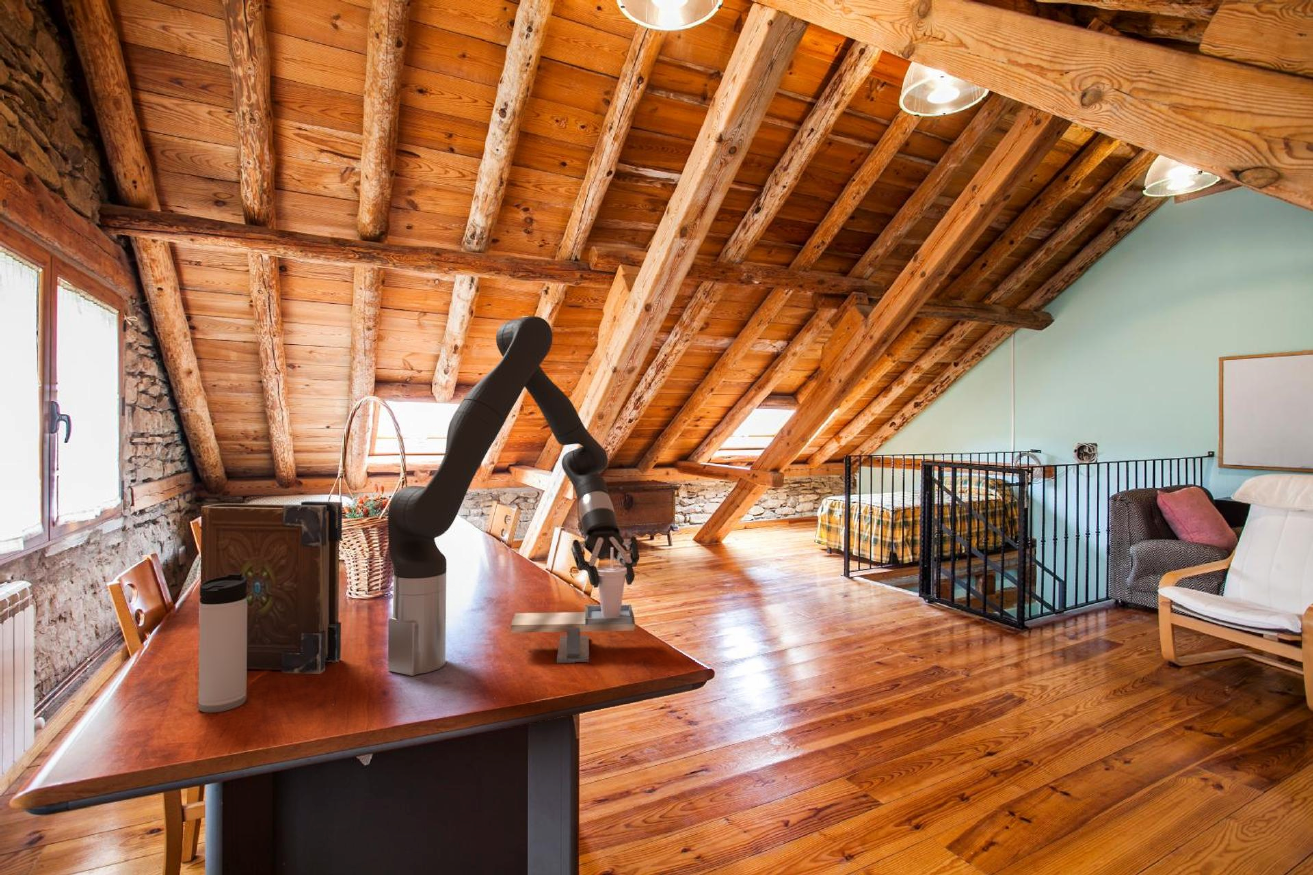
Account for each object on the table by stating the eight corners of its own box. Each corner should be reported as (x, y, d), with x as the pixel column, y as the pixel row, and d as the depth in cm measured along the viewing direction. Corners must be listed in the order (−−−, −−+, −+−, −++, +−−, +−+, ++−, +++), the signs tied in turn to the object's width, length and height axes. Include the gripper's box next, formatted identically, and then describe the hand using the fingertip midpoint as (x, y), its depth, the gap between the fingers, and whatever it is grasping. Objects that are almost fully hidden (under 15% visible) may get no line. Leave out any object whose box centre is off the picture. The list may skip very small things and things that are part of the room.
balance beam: (510, 634, 121) (510, 619, 121) (515, 619, 131) (515, 606, 131) (635, 631, 124) (635, 617, 124) (631, 617, 133) (632, 604, 133)
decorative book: (340, 659, 120) (342, 501, 120) (319, 674, 113) (321, 506, 113) (220, 656, 121) (221, 499, 121) (191, 670, 114) (193, 503, 114)
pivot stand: (556, 663, 120) (557, 631, 120) (559, 639, 134) (560, 610, 134) (588, 662, 121) (589, 630, 121) (588, 638, 135) (588, 610, 134)
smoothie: (598, 621, 124) (598, 550, 124) (592, 612, 130) (593, 544, 130) (630, 619, 126) (630, 549, 126) (623, 610, 132) (623, 543, 132)
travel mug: (256, 695, 104) (257, 573, 104) (230, 713, 97) (231, 583, 97) (217, 695, 104) (218, 573, 103) (188, 713, 97) (189, 582, 97)
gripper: (568, 507, 132) (581, 576, 121) (633, 505, 138) (652, 570, 127) (562, 529, 137) (575, 597, 126) (625, 526, 142) (643, 591, 132)
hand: (613, 583), depth 127 cm, fingers closed on smoothie, 6 cm apart
